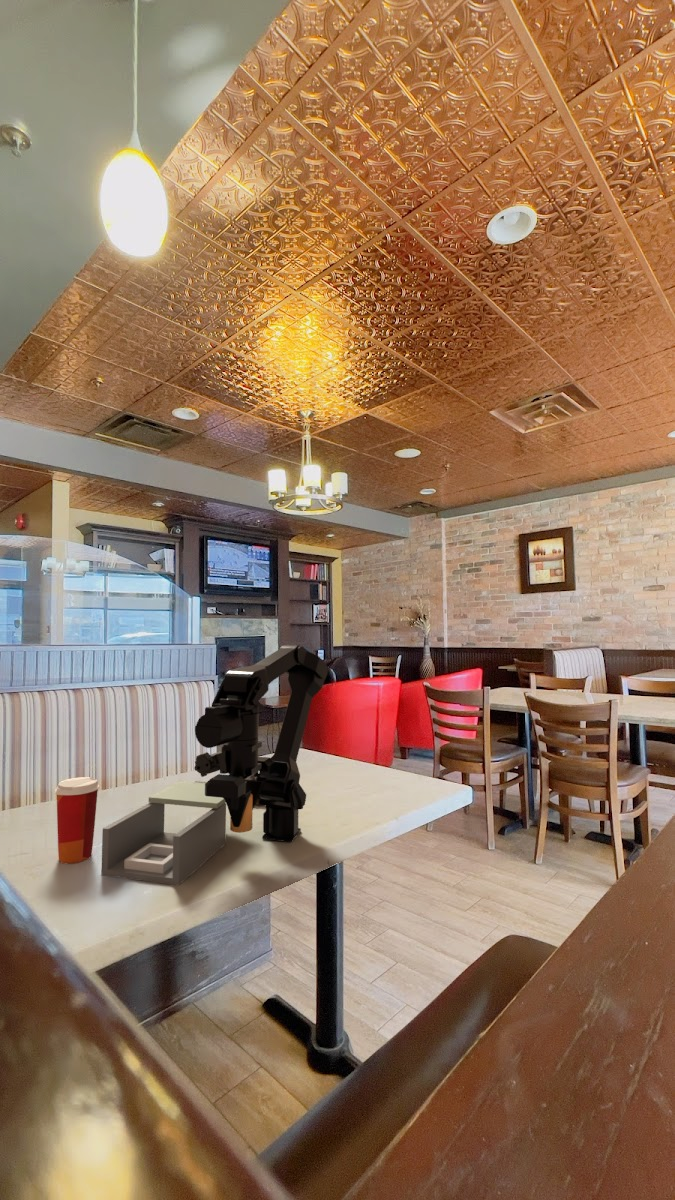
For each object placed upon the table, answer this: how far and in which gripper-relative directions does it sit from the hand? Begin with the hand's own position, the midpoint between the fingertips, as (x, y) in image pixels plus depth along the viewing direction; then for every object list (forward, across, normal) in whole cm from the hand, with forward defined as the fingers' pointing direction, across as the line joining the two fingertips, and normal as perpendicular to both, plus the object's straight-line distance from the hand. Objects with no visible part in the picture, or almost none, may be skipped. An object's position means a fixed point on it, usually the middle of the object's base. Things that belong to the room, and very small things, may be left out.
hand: (241, 822), depth 100 cm
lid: (+1, -10, -14) cm, 17 cm away
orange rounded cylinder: (+1, 0, 0) cm, 1 cm away
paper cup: (+7, +6, -31) cm, 32 cm away
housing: (+7, +2, -14) cm, 16 cm away
